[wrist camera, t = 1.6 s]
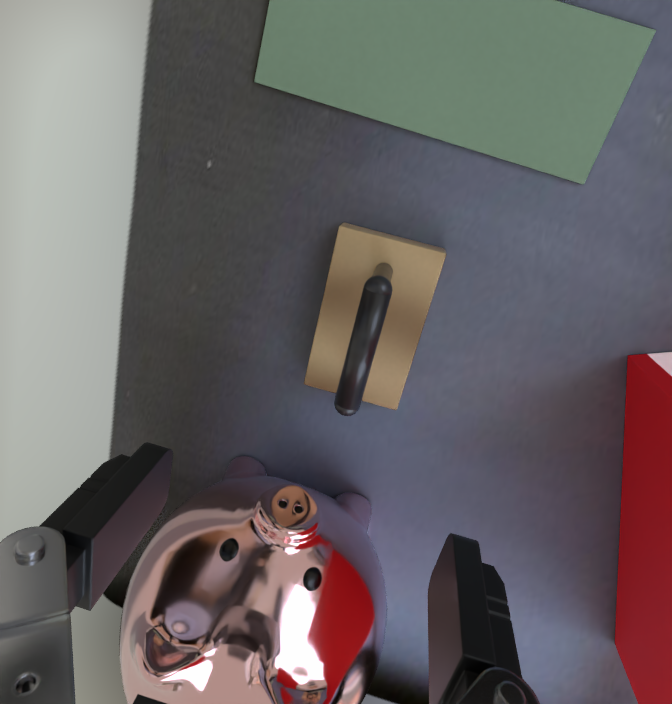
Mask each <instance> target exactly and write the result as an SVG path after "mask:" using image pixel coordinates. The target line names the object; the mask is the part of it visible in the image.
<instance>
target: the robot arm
mask: <svg viewBox="0 0 672 704" xmlns="http://www.w3.org/2000/svg"><path fill="white" fill-rule="evenodd" d="M172 459H173V451H172V450H171V449H168V448H165V447H161V446H158V445H155V444H151V443H148V442H146V443H144V444H143V445H142V446H141V447H140V448H139V449H138V450H137V451H136V452H135V453H134V454H133V455H132V456H131V457H129V456H125V455H122V454H121V455H119V456H117V457H115V458H113V459H111V460H109V461H107V462H105V463H103V464H102V465H101V466H100V467H99V468H98V469H97V470H96V471H95V472H94V473H93V474H92V475H91V477H90V478H88V479H87V480H86V481H85V482H84V483H83V484H82V485H81V487H80V488H78V489H77V490H76V491H75V492H74V493H73V494H72V495H71V496H70V497H69V498H67V499H66V501H64V503H62V504H61V505H60V506H59V507H58V508H57V509H56V511H54V512H53V513H52V514H51V515H50V516H49V517H48V518H47V519H46V520H45V521H44V522H43V523H42V524H41V525H40V526H39V527H29V528H25V529H22V530H18V531H16V532H14V533H12V534H10V535H9V536H7V537H6V538H4V539H3V540H2V541H1V542H0V704H75V689H74V671H73V670H74V669H73V652H72V635H71V617H70V613H71V612H72V610H73V609H74V607H75V606H77V607H80V608H83V609H86V610H89V611H90V610H91V609H92V608H93V606H94V605H95V603H96V602H97V601H98V599H99V598H100V597H101V595H102V594H103V592H104V591H105V590H106V588H107V587H108V585H109V584H110V583H111V581H112V580H113V579H114V577H115V576H116V574H117V573H118V572H119V570H120V569H121V567H122V566H123V565H124V563H125V562H126V560H127V559H128V558H129V556H130V555H131V553H132V552H133V551H134V549H135V548H136V547H137V545H138V544H139V542H140V541H141V540H142V538H143V537H144V535H145V534H146V533H147V531H148V530H149V528H150V527H151V526H152V524H153V523H154V522H155V520H156V519H157V517H158V516H159V515H160V513H161V511H162V510H163V508H164V505H165V503H166V500H167V497H168V493H169V485H170V477H171V468H172ZM428 640H429V704H540V703H539V701H538V699H537V697H536V695H535V693H534V692H533V690H532V689H531V688H530V686H529V685H528V684H527V683H526V682H525V681H524V680H523V679H522V675H521V670H520V665H519V660H518V654H517V649H516V644H515V639H514V633H513V628H512V623H511V620H510V612H509V607H508V605H507V596H506V591H505V586H504V583H503V581H502V580H501V578H500V576H499V575H498V573H497V571H496V570H495V568H494V566H491V565H488V564H484V563H482V561H481V554H480V547H479V543H478V541H476V540H473V539H469V538H466V537H462V536H459V535H456V534H452V533H450V534H449V535H448V537H447V539H446V541H445V544H444V546H443V548H442V551H441V553H440V555H439V558H438V560H437V563H436V565H435V567H434V570H433V572H432V575H431V579H430V583H429V589H428ZM133 704H167V703H164V702H161V701H158V700H155V699H152V698H149V697H145V696H142V695H139V694H137V696H136V698H135V700H134V702H133Z"/></svg>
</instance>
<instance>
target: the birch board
mask: <svg viewBox="0 0 672 704" xmlns="http://www.w3.org/2000/svg"><path fill="white" fill-rule="evenodd" d="M445 257H446V250H445V249H444V248H441V247H437V246H433V245H429V244H425V243H421V242H418V241H414V240H410V239H406V238H402V237H398V236H394V235H391V234H387V233H383V232H379V231H375V230H371V229H367V228H364V227H360V226H356V225H352V224H348V223H342V224H341V225H340V226H339V229H338V233H337V238H336V242H335V247H334V251H333V255H332V260H331V264H330V269H329V273H328V278H327V282H326V287H325V291H324V295H323V300H322V304H321V309H320V313H319V318H318V322H317V327H316V331H315V335H314V340H313V344H312V349H311V353H310V358H309V362H308V366H307V371H306V375H305V380H304V384H305V385H308V386H312V387H315V388H319V389H322V390H326V391H329V392H333V393H336V396H335V401H334V405H335V409H336V410H337V412H338V413H340V414H341V415H344V416H351V415H353V414H355V413H356V412H357V411H358V410H359V408H360V405H361V401H365V402H368V403H372V404H376V405H379V406H383V407H386V408H390V409H393V410H397V408H398V404H399V401H400V398H401V395H402V392H403V389H404V386H405V382H406V379H407V376H408V373H409V370H410V367H411V364H412V361H413V357H414V354H415V351H416V348H417V345H418V342H419V339H420V335H421V332H422V329H423V326H424V323H425V320H426V317H427V314H428V310H429V307H430V304H431V301H432V298H433V295H434V292H435V288H436V285H437V282H438V279H439V276H440V273H441V270H442V267H443V263H444V260H445Z"/></svg>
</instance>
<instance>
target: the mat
mask: <svg viewBox="0 0 672 704" xmlns="http://www.w3.org/2000/svg"><path fill="white" fill-rule="evenodd" d="M655 32H656V30H653V29H650V28H647V27H643V26H640V25H637V24H633V23H630V22H626V21H623V20H620V19H616V18H613V17H610V16H606V15H603V14H600V13H596V12H593V11H589V10H586V9H583V8H579V7H576V6H573V5H569V4H566V3H563V2H559V1H556V0H270V1H269V7H268V12H267V17H266V22H265V28H264V33H263V38H262V43H261V49H260V54H259V59H258V64H257V70H256V75H255V80H254V82H256V83H259V84H262V85H265V86H269V87H272V88H275V89H278V90H282V91H285V92H288V93H291V94H294V95H298V96H301V97H304V98H307V99H310V100H314V101H317V102H320V103H323V104H326V105H330V106H333V107H336V108H339V109H342V110H346V111H349V112H352V113H355V114H358V115H362V116H365V117H368V118H371V119H374V120H378V121H381V122H384V123H387V124H390V125H394V126H397V127H400V128H403V129H407V130H410V131H413V132H416V133H419V134H423V135H426V136H429V137H432V138H435V139H439V140H442V141H445V142H448V143H451V144H455V145H458V146H461V147H464V148H467V149H471V150H474V151H477V152H480V153H483V154H487V155H490V156H493V157H496V158H499V159H503V160H506V161H509V162H512V163H515V164H519V165H522V166H525V167H528V168H532V169H535V170H538V171H541V172H544V173H548V174H551V175H554V176H557V177H560V178H564V179H567V180H570V181H573V182H576V183H580V184H583V185H584V183H585V181H586V179H587V177H588V175H589V172H590V170H591V168H592V166H593V164H594V162H595V160H596V158H597V155H598V153H599V151H600V149H601V147H602V145H603V143H604V141H605V138H606V136H607V134H608V132H609V130H610V128H611V126H612V123H613V121H614V119H615V117H616V115H617V113H618V111H619V109H620V106H621V104H622V102H623V100H624V98H625V96H626V94H627V92H628V89H629V87H630V85H631V83H632V81H633V79H634V77H635V75H636V72H637V70H638V68H639V66H640V64H641V62H642V60H643V57H644V55H645V53H646V51H647V49H648V47H649V45H650V43H651V40H652V38H653V36H654V34H655Z"/></svg>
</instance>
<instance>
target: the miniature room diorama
mask: <svg viewBox="0 0 672 704" xmlns="http://www.w3.org/2000/svg"><path fill="white" fill-rule="evenodd" d="M615 645H616V648H617V650H618V653H619V655H620V658H621V660H622V663H623V666H624V668H625V671H626V673H627V676H628V678H629V681H630V684H631V686H632V689H633V691H634V694H635V696H636V699H637V701H638V704H672V352H663V353H651V354H639V355H628V360H627V382H626V405H625V427H624V449H623V471H622V493H621V516H620V538H619V560H618V582H617V604H616V626H615Z"/></svg>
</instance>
